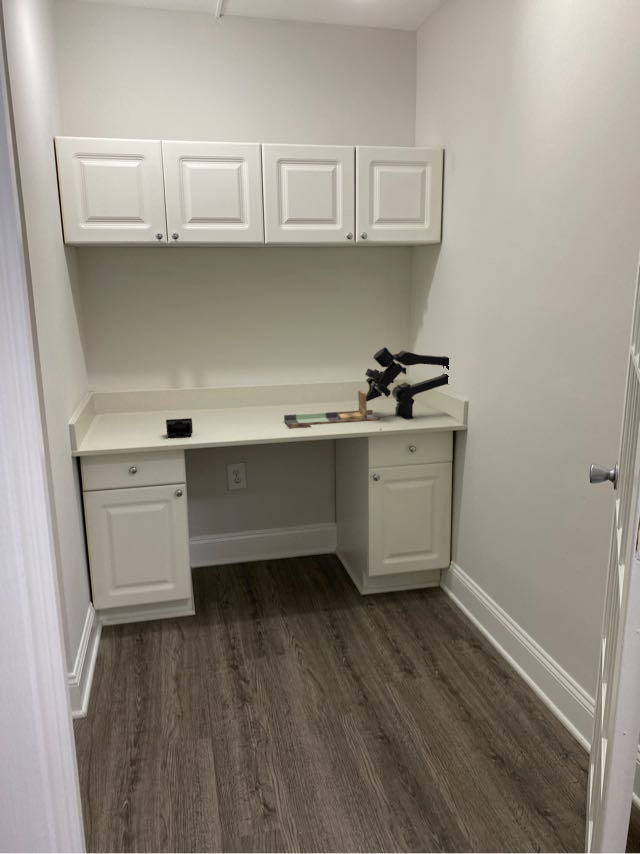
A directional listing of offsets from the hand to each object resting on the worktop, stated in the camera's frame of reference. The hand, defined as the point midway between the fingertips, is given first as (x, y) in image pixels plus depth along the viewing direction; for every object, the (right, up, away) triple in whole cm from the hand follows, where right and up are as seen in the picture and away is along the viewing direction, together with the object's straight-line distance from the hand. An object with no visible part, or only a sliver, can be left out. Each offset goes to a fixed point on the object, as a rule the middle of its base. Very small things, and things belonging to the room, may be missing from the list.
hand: (364, 401), depth 283 cm
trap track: (-14, -9, -1) cm, 17 cm away
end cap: (-75, -15, -20) cm, 79 cm away
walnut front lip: (-13, -10, -6) cm, 17 cm away
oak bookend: (-5, -7, +1) cm, 9 cm away
